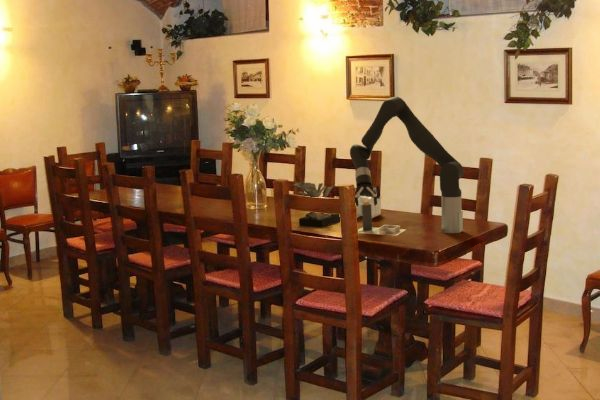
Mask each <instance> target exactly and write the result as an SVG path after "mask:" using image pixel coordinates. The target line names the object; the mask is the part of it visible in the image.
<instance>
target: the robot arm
mask: <svg viewBox="0 0 600 400" xmlns="http://www.w3.org/2000/svg"><path fill="white" fill-rule="evenodd" d="M395 117H396V118H398V119H399V120H400V121H401V122H402V123H403V124H404V126H405V128H406V131H407V134H408V136H409V140H411V142H412V143H413V145H415V146H416V147H417V148H418V150H419V151H420V152H421V153H424V154H425V155H426V156H428V157H429V158H431V160H433V161H435V163H437V164H438V166H439V167H440V169H439V188H440V192H441V233H445V234H461V232H463V227H464V225H463V224H464V222H463V219H464V216H463V215H464V214H463V212H464V211H463V210H462V189H461V188H460V179H461V178H462V177H463V176H464V171H465V170H464V166H463V165H462V164H461V163H460V162H459V161H458V160H457V159H455V158H454V157H453V155H451V154H450V153H449V152H448V151H447V150H446V149H445V148H444V146H443V145H442V144H441V143H440V141H439V140H438V139H437V138H436V137H435V136H434V135H433V134H432V133H431V131H430V130H429V129H428V128H427V127H426V126H425V125H424V124H423V123H422V122H421V120H420V119H419V118H418V117H417V116H416V115H415V114H414V112H412V110H411V108H410V107H409V105H408V104H407V103H406V102H405V100H404V99H403V98H401V97H399V96H393V97H389V98H387V99H385V100H384V101H383V102H382V104H381V106H380V108H379V110H378V112H377V114H376V117H375V118H374V120H373V122H372V124H371V125H370V126H369V128H368V129H367V131H366V132H365V134H364V135H363V136H362V138H361V144H362V145H360V144H352V145H351V147H350V150H349V155H350V159H351V161H352V163H353V165H354V169H355V170H354V172H355V175H354V176H355V183H356V184H355V185H356V187H354V188H355V192H356V194H355V195H354V196H355V203H356V205H357V206H358V198H359V197H360V196H366V197H372V198H373V199H374V206H376V205H377V199H379V198H380V196H381V191H380V186H379V185H376V186H373V183H372V175H371V171H370V165H369V162H368V161H369V159H370V158H371V155H372V152H373V149H374V148H375V147H374V146H375V145H376V144H377V142H378V141H379V140H380V138H381V136H382V134H383V132H384V128H385V126H386V125H387V124H388V122H389V121H391V120H392V119H393V118H395ZM375 193H376V194H377V195H376V194H375Z"/></svg>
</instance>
